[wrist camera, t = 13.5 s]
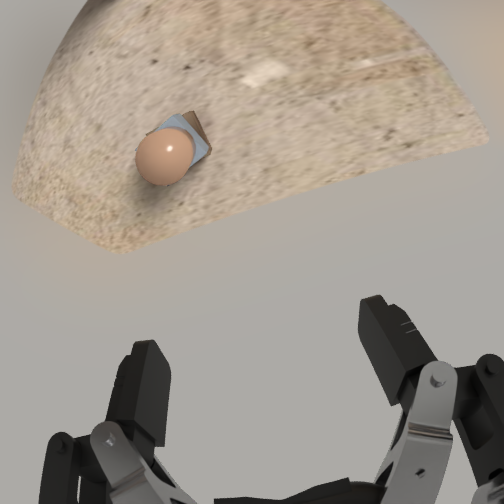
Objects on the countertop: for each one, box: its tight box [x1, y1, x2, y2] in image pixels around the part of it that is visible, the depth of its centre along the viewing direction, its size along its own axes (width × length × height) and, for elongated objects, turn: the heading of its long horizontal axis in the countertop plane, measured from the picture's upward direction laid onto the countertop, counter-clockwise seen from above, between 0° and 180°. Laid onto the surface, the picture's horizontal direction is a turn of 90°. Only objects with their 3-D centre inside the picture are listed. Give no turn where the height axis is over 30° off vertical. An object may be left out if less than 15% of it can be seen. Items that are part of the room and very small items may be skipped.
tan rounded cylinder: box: [136, 126, 196, 185], centre depth 25 cm, size 5×5×5 cm
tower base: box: [146, 111, 212, 160], centre depth 34 cm, size 6×6×5 cm
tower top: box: [135, 114, 209, 186], centre depth 29 cm, size 6×6×5 cm
